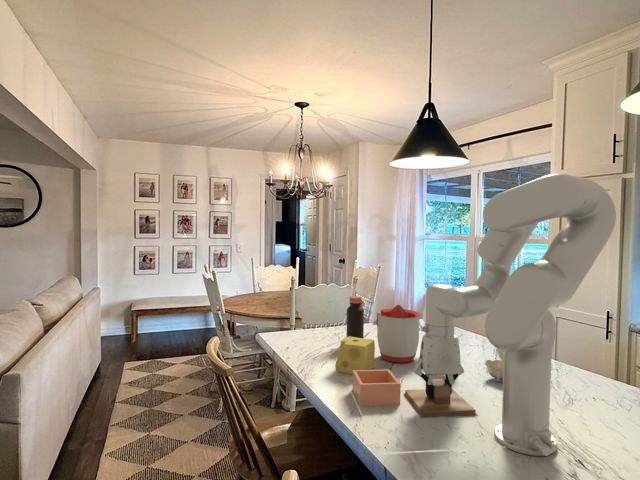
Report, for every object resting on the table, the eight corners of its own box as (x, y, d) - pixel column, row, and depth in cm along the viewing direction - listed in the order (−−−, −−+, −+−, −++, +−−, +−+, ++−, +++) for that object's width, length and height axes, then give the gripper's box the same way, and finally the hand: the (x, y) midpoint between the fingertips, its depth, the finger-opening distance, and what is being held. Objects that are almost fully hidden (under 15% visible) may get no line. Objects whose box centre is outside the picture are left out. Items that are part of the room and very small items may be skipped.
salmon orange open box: (400, 405, 110) (400, 383, 110) (360, 406, 109) (360, 384, 109) (388, 389, 121) (389, 369, 121) (352, 390, 120) (352, 370, 120)
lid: (475, 414, 104) (475, 392, 104) (422, 416, 103) (423, 394, 103) (451, 392, 118) (452, 373, 118) (405, 394, 117) (405, 374, 117)
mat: (478, 416, 104) (478, 415, 104) (421, 418, 102) (421, 417, 102) (452, 392, 119) (452, 391, 119) (402, 394, 117) (402, 393, 117)
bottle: (363, 344, 168) (364, 295, 167) (363, 348, 161) (364, 298, 161) (346, 343, 169) (347, 295, 168) (346, 348, 162) (346, 298, 161)
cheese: (335, 372, 135) (335, 342, 135) (348, 362, 145) (348, 334, 144) (364, 377, 130) (364, 346, 130) (375, 367, 140) (376, 338, 140)
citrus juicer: (377, 349, 161) (378, 299, 160) (422, 355, 154) (423, 302, 154) (366, 361, 146) (367, 305, 146) (415, 368, 140) (416, 310, 139)
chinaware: (495, 363, 151) (491, 318, 151) (546, 366, 143) (542, 319, 143) (484, 388, 127) (479, 335, 127) (545, 394, 119) (540, 337, 119)
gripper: (414, 334, 105) (413, 404, 106) (476, 333, 107) (474, 402, 108) (405, 327, 113) (404, 392, 113) (463, 326, 115) (461, 390, 115)
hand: (438, 396), depth 111 cm, fingers closed on lid, 4 cm apart
